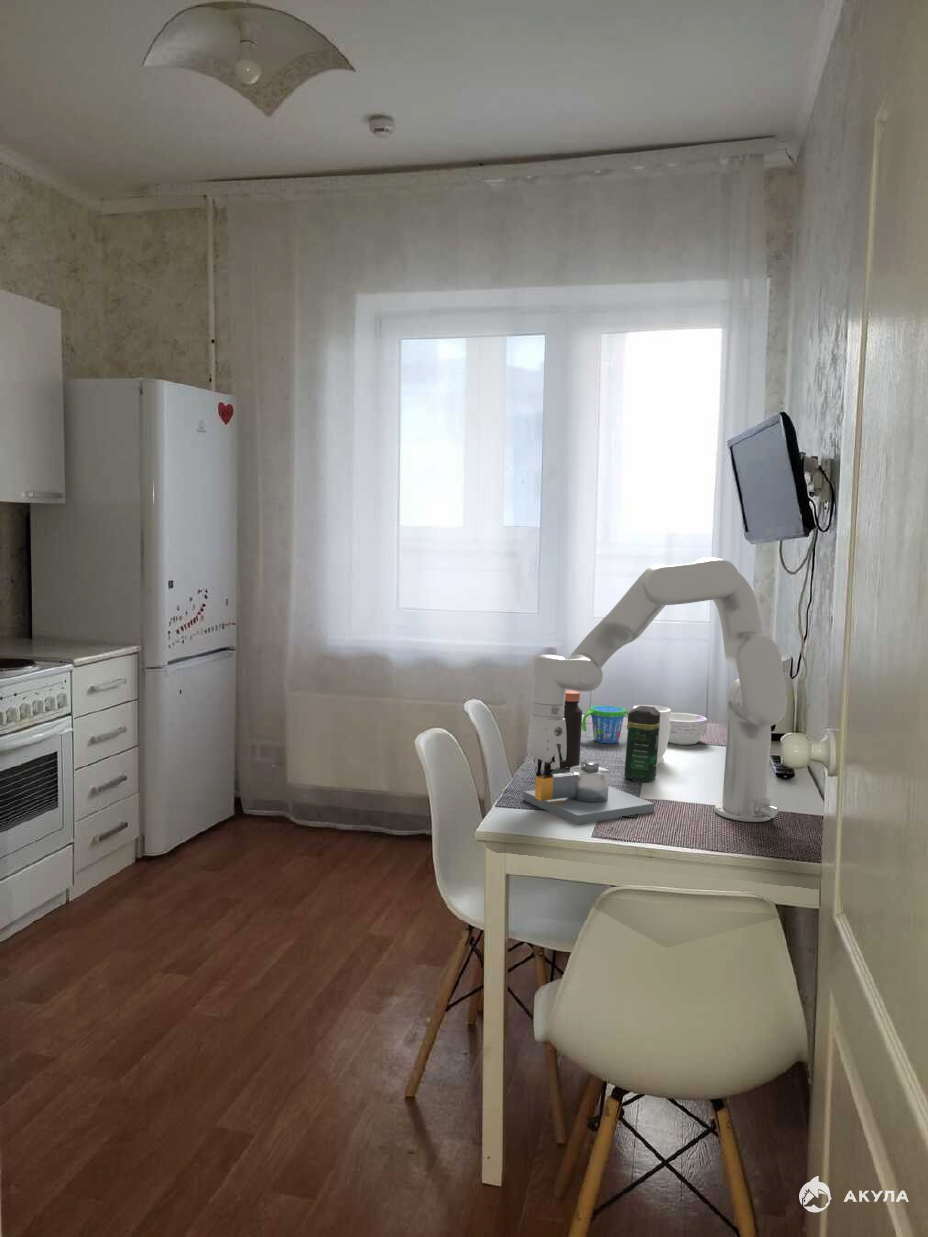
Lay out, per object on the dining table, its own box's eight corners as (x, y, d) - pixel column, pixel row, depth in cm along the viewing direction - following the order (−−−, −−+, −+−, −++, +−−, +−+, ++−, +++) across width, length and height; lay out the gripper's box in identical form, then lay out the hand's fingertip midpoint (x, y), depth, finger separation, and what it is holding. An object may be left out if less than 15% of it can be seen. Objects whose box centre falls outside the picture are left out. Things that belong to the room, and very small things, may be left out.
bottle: (553, 761, 255) (556, 689, 253) (578, 763, 255) (582, 690, 253) (554, 768, 248) (558, 693, 246) (580, 769, 248) (584, 694, 246)
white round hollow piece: (651, 735, 295) (653, 710, 294) (700, 737, 295) (701, 712, 294) (659, 746, 280) (661, 720, 279) (710, 748, 279) (712, 722, 279)
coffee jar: (653, 784, 236) (657, 711, 234) (621, 780, 238) (626, 708, 236) (658, 775, 245) (663, 705, 243) (628, 771, 247) (632, 702, 246)
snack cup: (586, 745, 277) (588, 711, 276) (576, 737, 287) (578, 704, 286) (636, 745, 279) (638, 712, 278) (625, 737, 290) (627, 705, 289)
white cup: (652, 767, 253) (655, 713, 252) (622, 759, 261) (625, 706, 259) (675, 762, 260) (679, 709, 259) (645, 754, 268) (648, 703, 266)
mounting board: (653, 812, 212) (654, 803, 211) (577, 824, 200) (578, 815, 200) (596, 789, 228) (597, 781, 228) (523, 800, 217) (523, 791, 217)
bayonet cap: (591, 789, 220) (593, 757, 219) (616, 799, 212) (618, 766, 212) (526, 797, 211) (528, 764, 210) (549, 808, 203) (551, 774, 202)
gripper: (580, 715, 206) (575, 797, 207) (544, 703, 219) (539, 780, 221) (551, 717, 202) (546, 800, 204) (516, 704, 215) (512, 782, 217)
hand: (543, 789), depth 212 cm, fingers closed
